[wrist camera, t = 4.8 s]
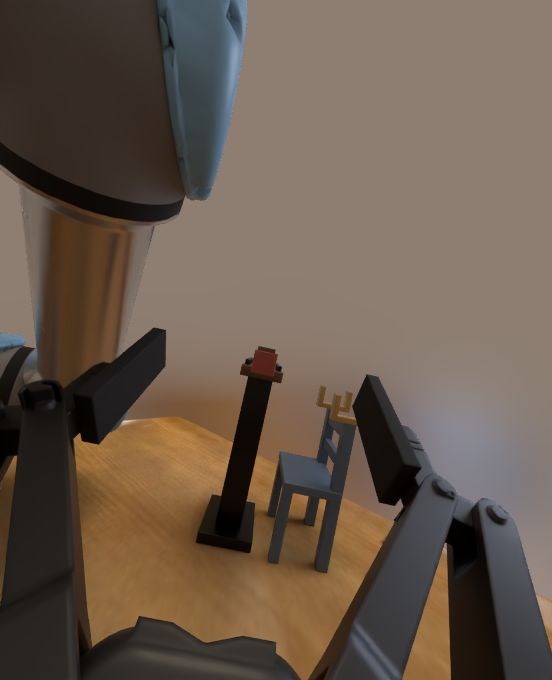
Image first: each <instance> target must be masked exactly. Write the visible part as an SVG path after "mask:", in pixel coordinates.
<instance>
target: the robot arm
mask: <svg viewBox="0 0 552 680" xmlns="http://www.w3.org/2000/svg"><path fill="white" fill-rule="evenodd" d="M246 25H247V0H0V170H2V171H3V172H4V173H5V174H6V175H8V176H9V177H10V178H12V179H13V180H14V181H15V182H17V183H18V184H19V191H20V200H21V210H22V218H23V228H24V236H25V246H26V254H27V265H28V273H29V283H30V292H31V301H32V310H33V319H34V328H35V337H36V348H30V347H24V346H23V345H24V344H25V341H24V337H23V336H21V335H14V334H8V333H0V490H1V487H2V479H3V477H4V475H5V473H6V471H7V469H8V467H9V465H10V463H11V461H12V459H13V457H14V456H17V455H18V456H17V465H16V474H15V483H14V492H13V501H12V510H11V519H10V528H9V537H8V546H7V555H6V564H5V573H4V582H3V591H2V599H1V605H0V680H301V679H300V678H299V676H298V675H297V673H296V672H295V671H294V669H293V668H292V667H291V666H290V665H289V664H288V663H287V662H286V661H285V660H284V659H283V658H282V657H281V656H279V655H278V654H276V642H273V641H267V640H262V639H257V638H252V637H246V636H240V637H235V638H230V639H225V640H220V641H215V642H210V643H205V642H202V641H201V640H199V639H198V638H196V637H195V636H193V635H191V634H190V633H188V632H187V631H185V630H184V629H182V628H181V627H179V626H178V625H176V624H175V623H173V622H168V621H162V620H157V619H152V618H147V617H141V616H139V618H138V620H137V623H136V625H135V627H130V628H126V629H124V630H121V631H118V632H116V633H114V634H112V635H110V636H108V637H107V638H105V639H103V640H102V641H100V642H99V643H97V644H96V645H95V646H93V647H92V643H91V633H90V625H89V619H88V612H87V601H86V588H85V575H84V563H83V550H82V537H81V524H80V512H79V499H78V486H77V473H76V461H75V448H74V440H73V439H74V438H75V437H76V436H77V435H78V434H79V433H80V434H81V439H82V441H84V442H89V443H93V444H98V445H99V444H100V442H101V441H102V440H103V439H104V438H105V437H106V435H107V434H108V433H109V432H112V431H114V430H116V429H117V428H118V427H119V426H120V425H121V423H122V421H123V420H124V418H125V415H126V413H127V411H128V409H129V408H130V407H131V406H132V405H133V403H134V402H135V401H136V400H137V399H138V398H139V397H140V395H141V394H142V393H143V392H144V391H145V389H146V388H147V387H148V386H149V385H150V384H151V382H152V381H153V380H154V379H155V378H156V377H157V375H158V374H159V373H160V372H161V370H162V369H163V368H164V367H165V359H166V330H163V329H159V328H153V329H152V330H150V331H149V332H148V333H147V334H145V335H144V336H143V337H142V338H141V339H139V340H138V341H137V342H136V343H134V344H133V345H132V346H131V347H129V348H128V349H127V350H126V351H125V352H123V351H122V350H123V346H124V342H125V337H126V334H127V330H128V327H129V323H130V319H131V315H132V311H133V307H134V303H135V300H136V296H137V292H138V288H139V284H140V281H141V277H142V273H143V269H144V265H145V261H146V257H147V254H148V250H149V246H150V242H151V238H152V234H153V231H154V227H155V226H156V225H159V224H165V223H167V222H170V221H172V220H173V219H175V218H176V217H177V216H178V215H179V212H180V209H181V207H182V204H183V201H184V197H185V195H186V197H187V198H188V199H190V200H200V201H201V200H206V199H207V198H208V197H209V196H210V192H211V189H212V186H213V184H214V182H215V179H216V176H217V173H218V169H219V166H220V162H221V158H222V154H223V150H224V146H225V142H226V137H227V133H228V128H229V124H230V120H231V115H232V110H233V105H234V100H235V95H236V90H237V85H238V79H239V74H240V68H241V62H242V56H243V49H244V43H245V34H246ZM352 407H353V411H354V414H355V418H356V421H357V425H358V428H359V432H360V436H361V439H362V443H363V447H364V450H365V454H366V457H367V461H368V465H369V468H370V472H371V475H372V478H373V483H374V486H375V490H376V493H377V497H378V501H379V503H383V504H388V505H393V506H395V505H396V504H397V502H398V501H399V499H400V498H401V501H402V503H403V506H404V507H403V508H402V510H401V511H400V512H399V514H398V515H397V517H396V518H395V519H394V521H395V522H394V524H393V526H392V528H391V530H390V532H389V534H388V535H387V537H386V539H385V541H384V543H383V545H382V547H381V548H380V550H379V552H378V554H377V556H376V558H375V560H374V562H373V563H372V565H371V567H370V569H369V571H368V573H367V575H366V576H365V578H364V580H363V582H362V584H361V586H360V588H359V589H358V591H357V593H356V595H355V597H354V599H353V601H352V603H351V604H350V606H349V608H348V610H347V612H346V614H345V616H344V617H343V619H342V621H341V623H340V625H339V627H338V629H337V630H336V632H335V634H334V636H333V638H332V640H331V642H330V644H329V645H328V647H327V649H326V651H325V653H324V655H323V656H322V658H321V660H320V661H319V663H318V664H317V666H316V667H315V669H314V670H313V672H312V674H311V675H310V677H309V679H308V680H402V677H403V674H404V671H405V667H406V664H407V661H408V658H409V655H410V652H411V648H412V645H413V642H414V639H415V636H416V633H417V629H418V626H419V623H420V620H421V617H422V614H423V610H424V607H425V604H426V601H427V598H428V595H429V591H430V588H431V585H432V582H433V579H434V576H435V572H436V569H437V566H438V563H439V560H440V557H441V553H442V550H443V547H444V544H445V543H447V565H448V597H449V629H450V660H451V680H552V652H551V648H550V645H549V641H548V637H547V634H546V630H545V627H544V623H543V620H542V616H541V612H540V609H539V605H538V602H537V598H536V594H535V591H534V587H533V584H532V580H531V577H530V573H529V569H528V566H527V563H526V559H525V555H524V552H523V548H522V544H521V541H520V537H519V534H518V530H517V527H516V524H515V522H514V520H513V518H512V517H511V516H510V514H509V513H508V512H507V511H506V510H505V509H504V508H503V507H501V506H500V505H498V504H497V503H495V502H494V501H492V500H489V499H484V498H482V499H481V500H479V501H478V502H477V503H476V504H475V503H473V502H471V501H469V500H467V499H465V498H463V497H461V496H459V495H457V493H456V490H455V489H454V488H453V486H452V485H451V484H450V483H449V482H447V481H446V480H445V479H443V478H442V477H440V476H438V475H437V473H436V472H435V470H434V468H433V466H432V464H431V462H430V460H429V458H428V456H427V454H426V453H425V452H424V449H423V447H422V445H421V444H420V441H419V439H418V438H417V435H416V434H415V433H414V432H413V431H412V430H411V429H410V428H409V427H407V426H402V425H401V423H400V421H399V419H398V417H397V415H396V413H395V411H394V409H393V407H392V404H391V402H390V401H389V398H388V396H387V394H386V392H385V390H384V388H383V386H382V384H381V382H380V380H379V377H376V376H372V375H366V378H365V379H364V382H363V384H362V386H361V388H360V391H359V393H358V395H357V397H356V399H355V402H354V404H353V406H352Z"/></svg>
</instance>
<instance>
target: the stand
mask: <svg viewBox="0 0 552 680" xmlns="http://www.w3.org/2000/svg"><path fill="white" fill-rule="evenodd" d="M252 363H253V358H248V359H246V361H245V363H244V364H242V367H241V371H240V375H245V376H248V380H247V385H246V388H245V393H244V397H243V402H242V406H241V411H240V415H239V420H238V424H237V429H236V434H235V438H234V442H233V446H232V451H231V455H230V460H229V464H228V469H227V473H226V477H225V482H224V486H223V491H222V495H221V496H218V495H213V494H212V496H211V499H210V502H209V504H208V507H207V510H206V512H205V515H204V518H203V520H202V523H201V526H200V528H199V531H198V534H197V539H196V543H201V544H206V545H212V546H217V547H222V548H227V549H232V550H237V551H242V552H247V553H250V551H251V546H252V539H253V525H254V511H255V503H252V502H247V501H246V500H247V496H248V491H249V486H250V482H251V477H252V473H253V468H254V464H255V459H256V455H257V450H258V445H259V440H260V436H261V432H262V427H263V423H264V418H265V413H266V409H267V404H268V400H269V395H270V391H271V386H272V382H277V383H281V381H282V377H283V373H282V371H281V369H282V367H281V366H280V365H279V364H278V363H276V365H275V370H274V375H273V377H270V376H266V375H261V374H257V373H252V372H251V367H252Z"/></svg>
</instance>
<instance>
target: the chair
mask: <svg viewBox="0 0 552 680" xmlns="http://www.w3.org/2000/svg"><path fill="white" fill-rule="evenodd" d="M325 390H326V387H325V386H322V385H320V389H319V394H318V399H317V403H316V405H317V406H320V407H324V408H327V411H326V416H325V421H324V426H323V431H322V435H321V441H320V445H319V450H318V455H317V459H315V458H310V457H306V456H301V455H295V454H291V453H287V452H282V451H281V452H280V454H279V461H278V466H277V470H276V475H275V480H274V484H273V489H272V494H271V498H270V503H269V508H268V516H272V517H275V516H276V511H277V506H278V502H279V497H280V492H281V488H282V492H281V497H280V502H279V506H278V511H277V516H276V520H275V525H274V530H273V535H272V539H271V544H270V549H269V553H268V561H269V562H273V563H278V561H279V556H280V551H281V547H282V542H283V537H284V532H285V527H286V523H287V518H288V513H289V508H290V504H291V499H292V494H293V493H296V494H301V495H306V496H309V498H308V503H307V508H306V513H305V518H304V520H305V524H306V525H311V526H314V524H315V519H316V514H317V509H318V504H319V499H325V500H327V501H326V506H325V511H324V516H323V521H322V526H321V531H320V536H319V541H318V546H317V551H316V556H315V561H314V563H315V567H316V571H321V572H326V573H327V570H328V565H329V560H330V555H331V550H332V545H333V540H334V535H335V530H336V525H337V520H338V515H339V510H340V505H341V500H342V495H343V490H344V485H345V480H346V475H347V470H348V465H349V460H350V455H351V450H352V445H353V440H354V435H355V430H356V425H357V421H356V418H353V417H349V416H344V415H339V414H338V411H343V412H347V413H349V410H350V409H349V408H350V406H351V401H352V395H353V393H352V392H350V391H346V396H345V401H344V406H340V402H341V397H342V396H340V395H339V394H335V393H334V396H333V401H332V404H331V403H327V402H323V400H324V395H325ZM357 426H358V425H357ZM333 430H335V431H336V432H337V433H338V434H339V436H340V437H339V442H338V447H337V448H336V446H335V445H334V444H333V442H332V441H331V440H332V435H333ZM328 455H329V457H330V458H331V460H332V462H333V463H334V467H333V472H332V476H331V475H330V473H329V471H328V469H327V467H326V465H327V460H328Z"/></svg>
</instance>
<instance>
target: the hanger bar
mask: <svg viewBox="0 0 552 680" xmlns="http://www.w3.org/2000/svg"><path fill="white" fill-rule="evenodd" d="M277 356H278V355H277V354H275V350H274V349H270V348H265V347H260V346H259V347H258V350H255V354H254V358H253V363H252V367H251V372H252V373H257V374H261V375H266V376H270V377H273V375H274V370H275V365H276V360H277Z"/></svg>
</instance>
